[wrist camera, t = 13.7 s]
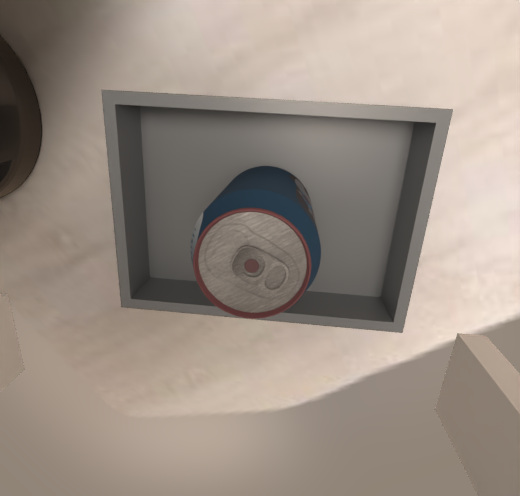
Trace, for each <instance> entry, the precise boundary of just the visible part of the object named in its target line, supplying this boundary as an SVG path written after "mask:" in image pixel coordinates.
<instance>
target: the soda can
mask: <svg viewBox="0 0 520 496" xmlns="http://www.w3.org/2000/svg"><path fill="white" fill-rule="evenodd" d="M190 252H191V260H192V264H193V268H194V273H195V277H196V280H197V282H198V285H199V287H200V288H201V290H202V292H203V293H204V295H205V296H206V297H207V298H208V299H209V300H210V301H211V302H212V303H213V304H214V305H215V306H217V307H218V308H220V309H221V310H223V311H225V312H227V313H229V314H232V315H235V316H238V317H243V318H251V319H258V318H266V317H271V316H274V315H277V314H279V313H281V312H283V311H285V310H287V309H288V308H290V307H291V306H292V305H293V304H295V303H296V302H297V301H298V299H299V298H300V297H301V296H302V295H303V294H304V293H305V292H306V291H307V289H308V288H309V287H310V285H311V284H312V282H313V281H314V279H315V277H316V275H317V272H318V269H319V266H320V260H321V244H320V239H319V235H318V230H317V226H316V222H315V217H314V213H313V209H312V204H311V200H310V197H309V194H308V192H307V190H306V188H305V187H304V185H303V184H302V183H301V182H300V180H299V179H298V178H296V177H295V176H294V175H293V174H291V173H290V172H288V171H286V170H284V169H281V168H278V167H273V166H258V167H254V168H250V169H248V170H245V171H244V172H242V173H240V174H239V175H237V176H236V177H235V178H234V179H233V180H232V181H231V182H230V183H229V184H228V185H227V186H226V188H225V189H224V190H223V191H222V192H221V193H220V194H219V195H218V196H217V197H216V198H215V199H214V201H213V202H212V203H211V204H210V205H209V206H208V207H207V208H206V209H205V210H204V212H203V213H202V214H201V216H200V217H199V219H198V220H197V222H196V224H195V227H194V229H193V233H192V237H191V244H190Z"/></svg>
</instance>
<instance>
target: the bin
mask: <svg viewBox="0 0 520 496" xmlns="http://www.w3.org/2000/svg"><path fill="white" fill-rule="evenodd" d="M102 101H103V111H104V122H105V133H106V144H107V155H108V166H109V177H110V188H111V199H112V210H113V220H114V231H115V242H116V253H117V264H118V275H119V286H120V297H121V307H126V308H137V309H148V310H159V311H170V312H181V313H191V314H202V315H213V316H224V317H235V318H243V317H238V316H235V315H232V314H229V313H227V312H225V311H223V310H221V309H220V308H218V307H217V306H215V305H214V304H213V303H212V302H211V301H210V300H209V299H208V298H207V297H206V296H205V295H204V293H203V292H202V290H201V288H200V287H199V285H198V282H197V280H196V277H195V273H194V268H193V264H192V260H191V252H190V244H191V237H192V233H193V229H194V227H195V224H196V222H197V220H198V219H199V217H200V216H201V214H202V213H203V212H204V210H205V209H206V208H207V207H208V206H209V205H210V204H211V203H212V202H213V201H214V199H215V198H216V197H217V196H218V195H219V194H220V193H221V192H222V191H223V190H224V189H225V188H226V186H227V185H228V184H229V183H230V182H231V181H232V180H233V179H234V178H235V177H236V176H237V175H239V174H240V173H242V172H244V171H245V170H248V169H250V168H254V167H258V166H273V167H278V168H281V169H284V170H286V171H288V172H290V173H291V174H293V175H294V176H295V177H296V178H298V179H299V180H300V182H301V183H302V184H303V185H304V187H305V188H306V190H307V192H308V194H309V197H310V200H311V204H312V209H313V213H314V217H315V222H316V226H317V230H318V235H319V239H320V244H321V260H320V266H319V269H318V272H317V275H316V277H315V279H314V281H313V282H312V284H311V285H310V287H309V288H308V289H307V291H306V292H305V293H304V294H303V295H302V296H301V297H300V298H299V299H298V301H297V302H296V303H295V304H293V305H292V306H291V307H290V308H288V309H287V310H285V311H283V312H281V313H279V314H277V315H274V316H271V317H266V318H258V319H257V320H268V321H279V322H290V323H301V324H312V325H323V326H334V327H345V328H356V329H366V330H377V331H388V332H399V333H402V332H403V328H404V324H405V319H406V315H407V310H408V306H409V301H410V297H411V293H412V288H413V284H414V279H415V275H416V271H417V266H418V262H419V257H420V253H421V248H422V244H423V240H424V235H425V231H426V226H427V222H428V218H429V213H430V209H431V204H432V200H433V196H434V191H435V187H436V182H437V178H438V173H439V169H440V165H441V160H442V156H443V151H444V147H445V143H446V138H447V134H448V129H449V125H450V120H451V116H452V112H453V109H439V108H421V107H403V106H385V105H367V104H349V103H331V102H313V101H294V100H276V99H258V98H240V97H222V96H204V95H186V94H168V93H150V92H132V91H114V90H102ZM246 319H251V318H246Z"/></svg>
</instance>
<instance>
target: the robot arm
mask: <svg viewBox="0 0 520 496" xmlns="http://www.w3.org/2000/svg"><path fill="white" fill-rule="evenodd" d="M40 141H41V119H40V112H39V106H38V102H37V98H36V95H35V92H34V89H33V86H32V84H31V81H30V79H29V77H28V75H27V73H26V71H25V69H24V67H23V66H22V64H21V62H20V61H19V59H18V57H17V56H16V55H15V53H14V52H13V50H12V49H11V48H10V46H9V45H8V44H7V43H6V42H5V41H4V39H3V38H2V37H1V36H0V197H2V196H5V195H7V194H9V193H10V192H12V191H13V190H15V189H16V188H17V187H19V186H20V185H21V184H22V183H23V182H24V180H25V179H26V178H27V177H28V175H29V174H30V172H31V170H32V169H33V167H34V164H35V162H36V159H37V156H38V152H39V148H40ZM23 370H24V365H23V361H22V356H21V352H20V347H19V343H18V338H17V333H16V329H15V325H14V320H13V315H12V311H11V306H10V302H9V297H8V294H1V293H0V392H1V391H2V390H3V389H4V388H5V387H6V386H7V385H8V384H9V383H10V382H12V381H13V380H14V379H15V378H16V377H17V376H18V375H19V374H20V373H21V372H22V371H23ZM435 410H436V412H437V414H438V416H439V418H440V420H441V422H442V424H443V426H444V428H445V430H446V433H447V434H448V437H449V439H450V441H451V442H452V445H453V447H454V448H455V451H456V453H457V455H458V457H459V459H460V461H461V463H462V465H463V466H464V469H465V471H466V473H467V475H468V477H469V479H470V481H471V483H472V485H473V487H474V489H475V491H476V493H477V495H478V496H520V374H519V373H518V372H517V370H516V369H515V368H514V367H513V366H512V365H511V364H510V363H509V361H508V360H507V359H506V358H505V357H504V356H503V355H502V354H501V353H500V351H499V350H498V349H497V348H496V347H495V346H494V345H493V344H492V342H491V341H490V340H489V339H488V338H487V337H486V336H481V335H470V334H459V333H457V337H456V340H455V344H454V347H453V351H452V354H451V357H450V361H449V364H448V368H447V371H446V374H445V378H444V381H443V385H442V388H441V391H440V395H439V398H438V401H437V405H436V408H435Z"/></svg>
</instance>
